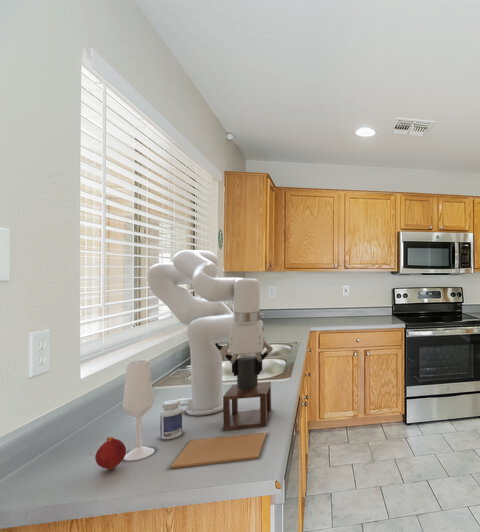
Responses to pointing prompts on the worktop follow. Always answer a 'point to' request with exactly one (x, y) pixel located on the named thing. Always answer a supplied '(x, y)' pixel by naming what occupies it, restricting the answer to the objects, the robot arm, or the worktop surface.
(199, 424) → the worktop surface
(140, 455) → the champagne flute
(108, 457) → the onion
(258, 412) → the wooden frame
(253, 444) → the mat
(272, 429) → the worktop surface
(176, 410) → the pill bottle
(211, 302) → the robot arm
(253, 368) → the dark grey cylinder
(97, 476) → the worktop surface
